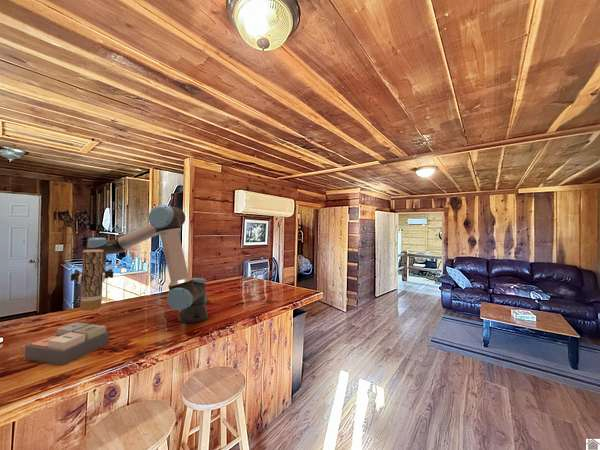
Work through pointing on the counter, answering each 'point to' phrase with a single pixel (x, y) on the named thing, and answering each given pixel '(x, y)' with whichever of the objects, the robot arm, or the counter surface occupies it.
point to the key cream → (66, 341)
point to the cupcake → (206, 296)
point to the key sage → (91, 331)
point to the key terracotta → (43, 342)
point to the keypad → (65, 351)
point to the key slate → (70, 328)
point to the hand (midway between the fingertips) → (91, 279)
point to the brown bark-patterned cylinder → (92, 279)
